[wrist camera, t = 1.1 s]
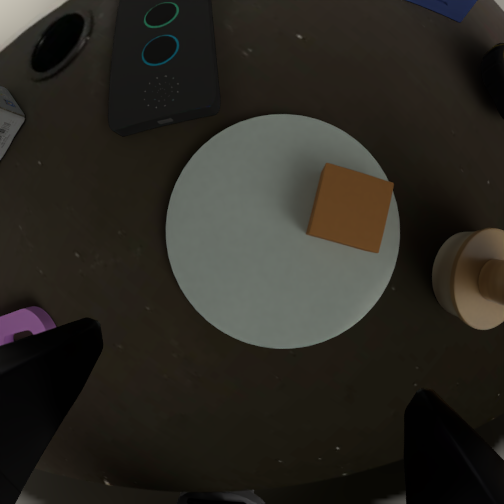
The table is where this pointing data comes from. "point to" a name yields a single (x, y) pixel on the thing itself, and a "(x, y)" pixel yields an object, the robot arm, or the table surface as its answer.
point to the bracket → (24, 323)
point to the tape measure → (494, 75)
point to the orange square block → (350, 208)
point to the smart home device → (162, 65)
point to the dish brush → (472, 277)
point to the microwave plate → (273, 234)
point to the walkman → (448, 7)
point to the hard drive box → (8, 119)
